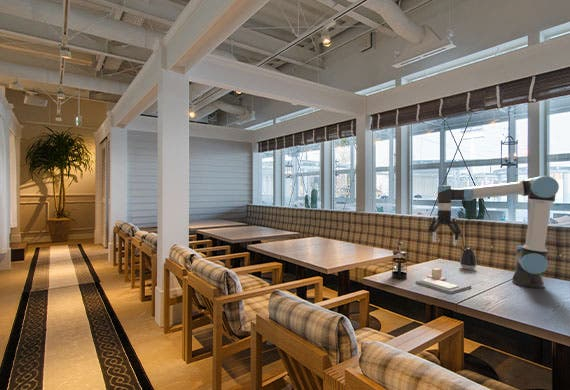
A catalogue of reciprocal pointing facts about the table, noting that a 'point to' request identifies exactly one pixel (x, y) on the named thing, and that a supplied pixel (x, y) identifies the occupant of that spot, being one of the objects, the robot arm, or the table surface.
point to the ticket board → (444, 285)
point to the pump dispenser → (468, 259)
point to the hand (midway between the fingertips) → (444, 243)
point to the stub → (436, 274)
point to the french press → (399, 265)
